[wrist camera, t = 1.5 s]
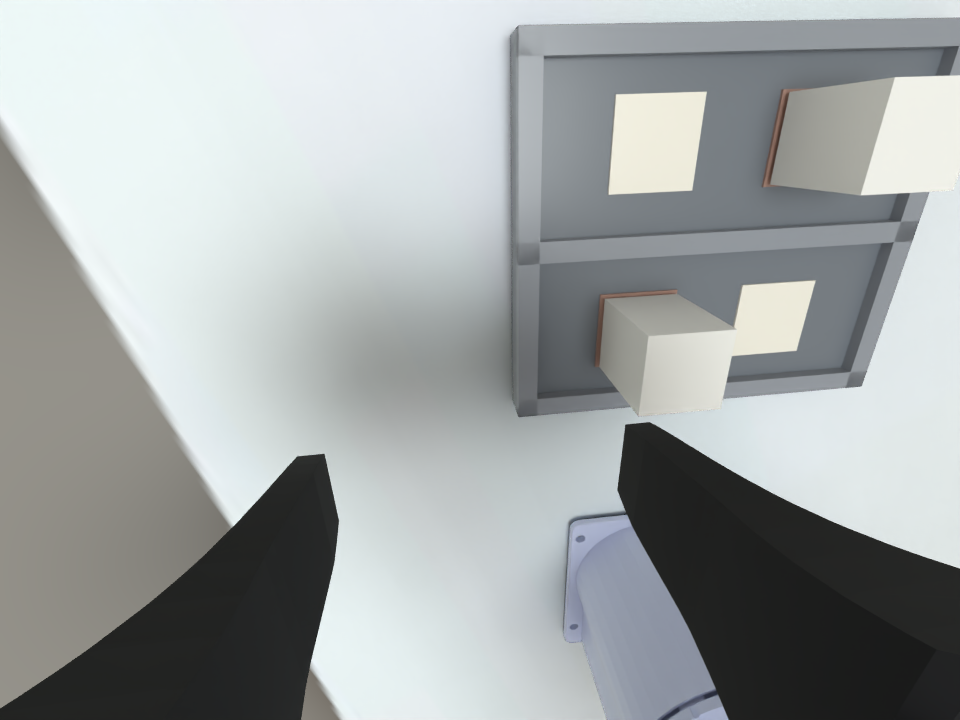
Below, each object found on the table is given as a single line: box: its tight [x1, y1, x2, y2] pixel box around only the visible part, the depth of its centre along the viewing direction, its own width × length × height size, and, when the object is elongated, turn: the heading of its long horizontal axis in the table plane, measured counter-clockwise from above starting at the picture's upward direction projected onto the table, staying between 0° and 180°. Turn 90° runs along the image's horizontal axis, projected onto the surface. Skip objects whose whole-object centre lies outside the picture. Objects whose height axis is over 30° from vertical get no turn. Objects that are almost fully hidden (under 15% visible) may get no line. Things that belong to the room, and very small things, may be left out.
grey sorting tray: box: [510, 18, 960, 417], centre depth 19 cm, size 14×16×2 cm
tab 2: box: [770, 75, 960, 195], centre depth 15 cm, size 3×3×4 cm
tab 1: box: [599, 294, 737, 417], centre depth 18 cm, size 3×3×4 cm
